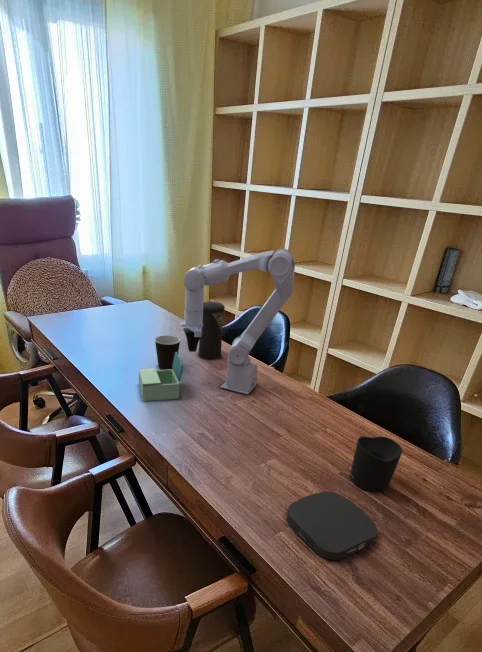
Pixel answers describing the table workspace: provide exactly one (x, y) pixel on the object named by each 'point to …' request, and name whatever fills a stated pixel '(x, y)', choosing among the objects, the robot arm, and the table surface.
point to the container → (211, 330)
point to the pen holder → (374, 463)
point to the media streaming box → (331, 524)
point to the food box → (158, 384)
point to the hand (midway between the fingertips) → (192, 350)
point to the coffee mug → (166, 350)
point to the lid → (177, 366)
